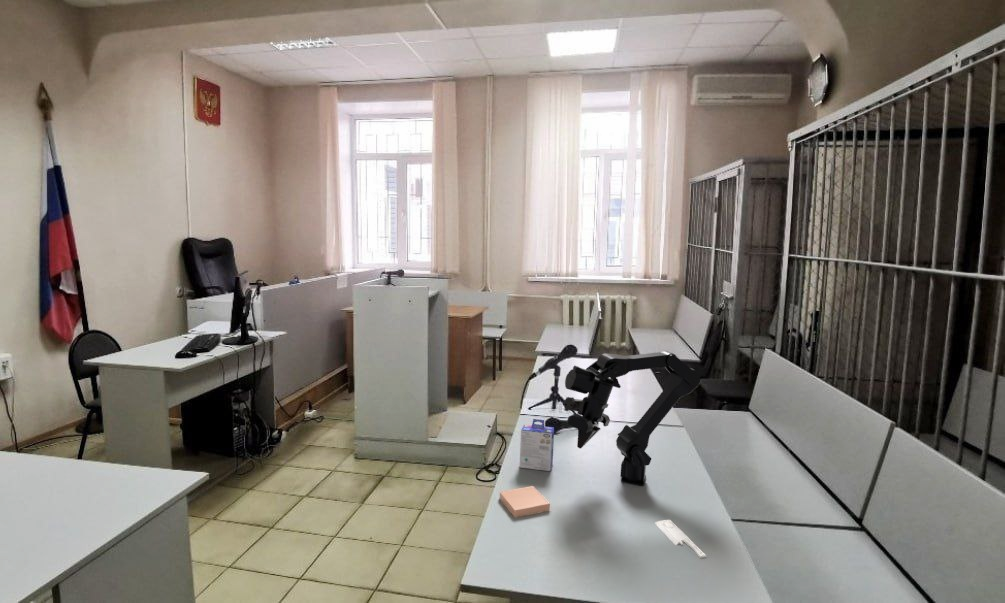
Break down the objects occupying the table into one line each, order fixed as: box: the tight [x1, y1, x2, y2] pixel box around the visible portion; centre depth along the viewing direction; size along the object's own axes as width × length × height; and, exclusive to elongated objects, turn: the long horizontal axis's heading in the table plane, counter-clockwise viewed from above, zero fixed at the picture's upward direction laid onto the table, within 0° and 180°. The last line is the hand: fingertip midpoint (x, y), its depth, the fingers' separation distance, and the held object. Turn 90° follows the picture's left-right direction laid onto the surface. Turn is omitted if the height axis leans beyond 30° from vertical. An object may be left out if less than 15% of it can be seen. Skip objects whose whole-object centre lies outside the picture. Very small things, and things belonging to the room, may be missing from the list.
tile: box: [499, 485, 551, 518], centre depth 140 cm, size 2×10×10 cm
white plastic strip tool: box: [654, 519, 707, 559], centre depth 126 cm, size 5×15×1 cm, turn 13°
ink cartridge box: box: [518, 418, 555, 472], centre depth 162 cm, size 10×6×14 cm, turn 78°
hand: (579, 447), depth 151 cm, fingers closed
